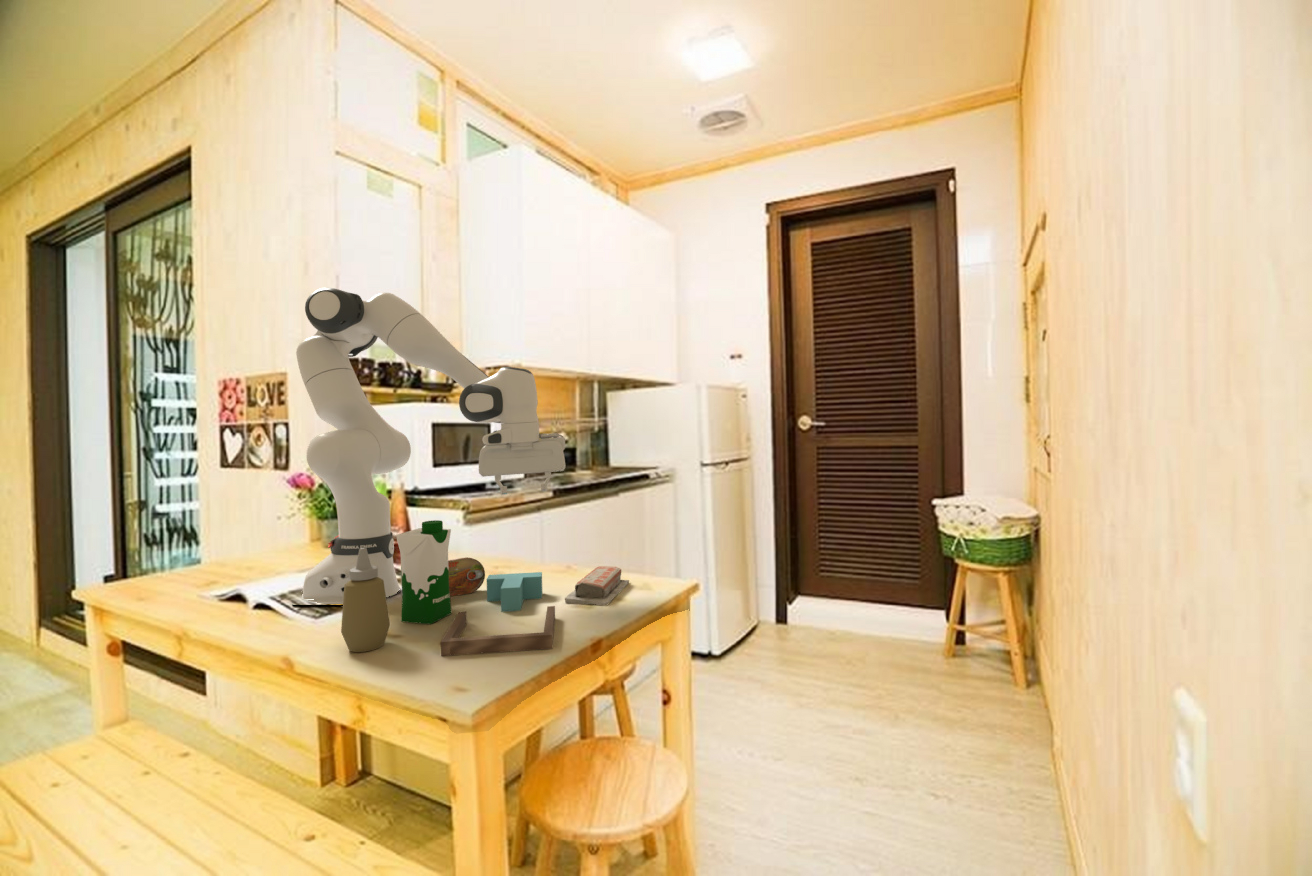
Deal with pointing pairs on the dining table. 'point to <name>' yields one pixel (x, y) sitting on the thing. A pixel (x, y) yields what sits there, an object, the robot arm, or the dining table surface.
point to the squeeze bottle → (364, 607)
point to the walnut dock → (495, 638)
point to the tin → (465, 576)
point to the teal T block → (514, 589)
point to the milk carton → (425, 573)
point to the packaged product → (598, 587)
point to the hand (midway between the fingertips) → (524, 492)
